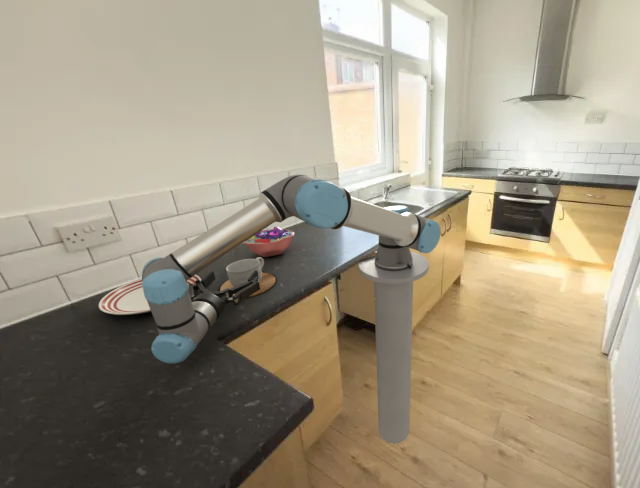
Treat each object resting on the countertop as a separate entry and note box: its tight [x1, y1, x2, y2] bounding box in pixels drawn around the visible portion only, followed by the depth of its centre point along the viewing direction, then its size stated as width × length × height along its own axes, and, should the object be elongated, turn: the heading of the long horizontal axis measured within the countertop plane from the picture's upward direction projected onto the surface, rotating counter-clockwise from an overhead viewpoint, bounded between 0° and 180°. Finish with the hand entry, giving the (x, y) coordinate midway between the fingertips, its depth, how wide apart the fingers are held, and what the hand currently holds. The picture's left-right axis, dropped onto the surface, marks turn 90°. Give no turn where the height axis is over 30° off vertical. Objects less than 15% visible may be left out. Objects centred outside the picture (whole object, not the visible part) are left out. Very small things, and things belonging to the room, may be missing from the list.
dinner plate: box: [98, 274, 202, 316], centre depth 103 cm, size 27×27×3 cm
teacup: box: [225, 256, 265, 287], centre depth 110 cm, size 14×11×8 cm
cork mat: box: [219, 271, 276, 298], centre depth 111 cm, size 18×18×1 cm
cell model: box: [244, 226, 295, 258], centre depth 134 cm, size 17×20×11 cm
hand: (235, 274), depth 101 cm, fingers open, 13 cm apart
